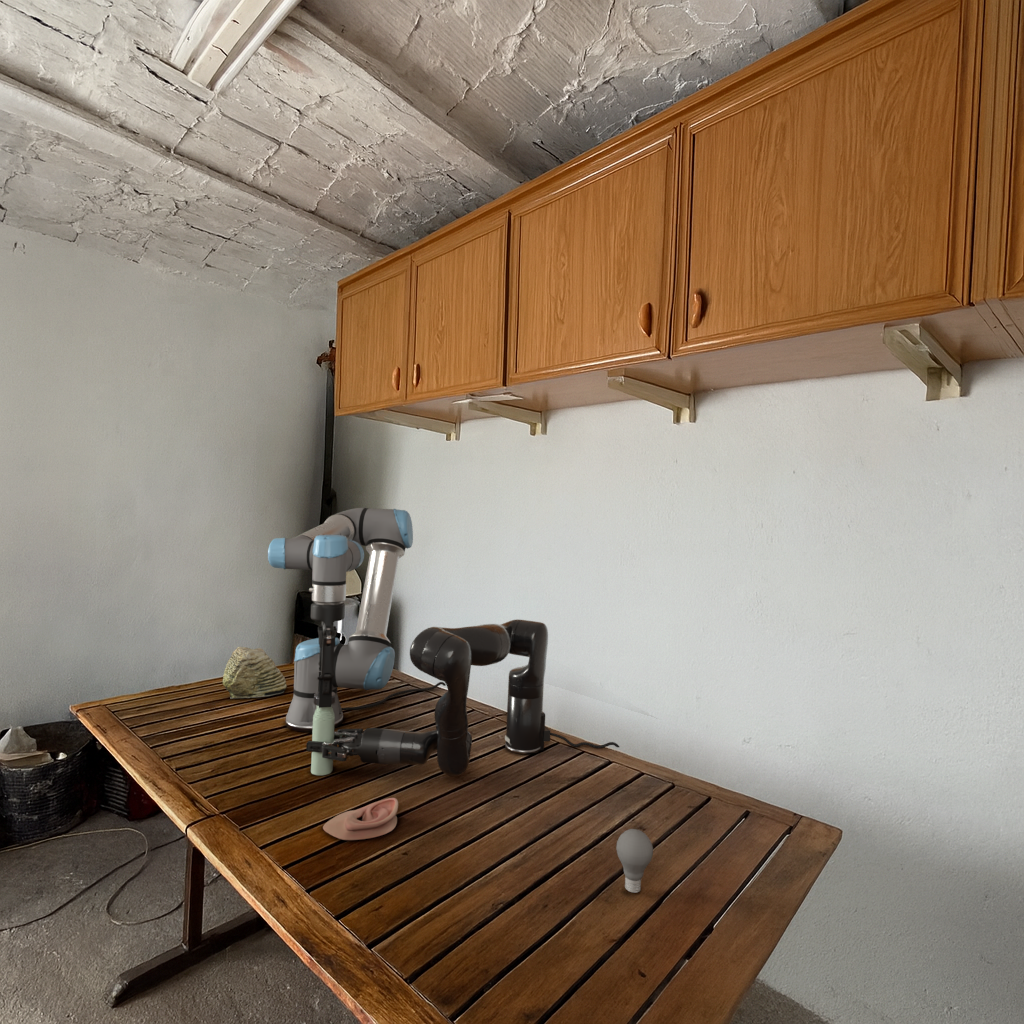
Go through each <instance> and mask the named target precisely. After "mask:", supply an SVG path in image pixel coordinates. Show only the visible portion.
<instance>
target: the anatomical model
mask: <svg viewBox="0 0 1024 1024" xmlns="http://www.w3.org/2000/svg"><path fill="white" fill-rule="evenodd" d="M398 809H399V801H398V799H397V798H396V797H389V798H388V797H387V798H383V799H381V800H378V801H375V802H372V803H369V804H367V805H365V806H363V807H360V808H357V809H353V810H352V809H351V810H348V811H344V812H341V813H340V814H337V815H336V816H333V818H330V819H329V820H328V821H327V822H325V823H324V824H323V826H322V830H323V831H324V832H325V833H326V834H329V835H330V836H332V837H334V838H337V839H339V840H342V841H358V840H359V841H360V840H366V839H373V838H377V837H380V836H383V835H386V834H388V833H390V832H392V831H393V830H394V829H395V828H396V826H397V824H398V817H397V813H398Z"/></svg>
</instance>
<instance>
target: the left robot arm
mask: <svg viewBox="0 0 1024 1024" xmlns="http://www.w3.org/2000/svg"><path fill="white" fill-rule="evenodd" d="M413 542H414V530H413V521H412V517H411V515H410V513H409V512H408V511H407V510H406V509H405V510H404V509H397V508H376V507H375V508H374V507H373V508H372V507H356V508H355V507H354V508H350V509H347V510H343V511H340V512H337V513H334V514H332V515H330V516H328V517H327V518H326V520H325V521H324V522H323V523H322V524H320V525H317V526H315V527H313V528H311V529H308V530H306V531H305V532H302V533H300V534H298V535H296V536H293V537H292V538H291V537H275V538H273V539H272V540H271V541H270V543H269V545H268V548H267V560H268V563H269V565H270V566H271V567H272V568H275V569H283V570H299V571H300V570H302V571H304V570H305V571H312V575H311V576H312V580H311V584H312V587H309V589H308V592H309V593H311V601H312V603H311V604H310V619H311V620H312V621H314V622H321V624H320V625H319V626H317V634H318V637H316V638H312V639H307V640H304V641H302V642H300V643H298V644H297V645H296V647H295V654H294V659H293V661H294V670H293V671H294V672H293V695H292V696H293V697H292V699H291V702H290V704H289V708H288V711H287V713H286V715H285V726H286V728H287V729H289V730H291V731H294V732H295V731H296V732H301V733H312V732H313V715H314V713H315V711H316V708H317V705H315V704H314V694H315V693H317V692H319V708H322V707H331V703H332V692H334V693H335V703H334V704H332V708H333V712H334V716H335V722H334V729H335V728H337V727H339V726H340V725H342V723H343V722H344V714H343V711H344V712H345V711H357V710H364V709H369V708H373V707H377V706H380V705H382V704H384V703H385V702H387V700H389V699H390V698H391V699H392V698H393V697H395V696H399V695H403V694H409V693H415V692H424V691H432V690H434V689H436V688H438V687H439V686H441V685H442V686H445V687H447V685H446V683H445V682H444V681H438V682H437V683H436V684H434V685H433V686H430V687H422V688H421V687H420V688H411V689H406V690H400V691H397V692H394V693H391V694H389V695H387V696H386V697H384V698H383V699H382V700H380V701H377V702H374V703H371V704H366V705H360V706H350V707H349V706H348V707H347V706H346V707H342V706H341V702H340V699H339V695H338V688H340V689H355V690H356V689H357V690H365V691H370V690H382V689H383V688H385V686H387V684H388V683H389V681H390V678H391V677H392V673H393V671H394V666H395V657H396V653H395V651H396V650H395V649H394V648H393V647H392V646H391V641H390V639H389V638H388V637H387V633H388V627H389V621H390V620H389V619H390V614H391V608H392V603H393V602H392V601H393V597H394V590H395V584H396V577H397V571H398V565H399V559H401V558H403V557H404V556H405V553H406V549H410V548H412V547H413V544H414V543H413ZM362 546H364V547H365V550H366V552H367V553H368V554H369V558H368V563H367V568H366V573H365V580H364V585H363V589H362V596H361V600H360V601H361V602H360V605H359V612H358V616H357V623H356V628H355V632H354V633H353V634H351V635H350V636H348V641H347V644H341V641H340V639H339V638H338V637H337V634H338V633H337V631H338V629H337V626H336V625H334V623H335V622H340V621H343V620H344V619H345V617H346V604H345V603H344V602H345V601H346V600H347V573H348V572H352V571H354V570H356V569H358V568H359V567H360V566H361V565H362V563H363V562H364V559H365V551H364V547H362Z"/></svg>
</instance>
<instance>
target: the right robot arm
mask: <svg viewBox="0 0 1024 1024" xmlns="http://www.w3.org/2000/svg"><path fill="white" fill-rule="evenodd" d="M548 644H549V630H548V627H547V625H546V624H545V623H544V622H541V621H534V620H527V619H520V618H519V619H512V620H511V619H510V620H509V621H506V622H503V623H501V624H499V623H486V624H478V625H471V626H470V625H469V626H462V627H441V626H430V627H427V628H425V629H424V630H422V631H421V632H419V633H418V634H417V635H416V636H415V638H414V639H413V641H412V643H411V644H410V648H409V659H410V662H411V663H412V665H413V666H414V667H415V668H416V669H417V670H419V671H420V672H422V673H424V674H427V675H428V676H431V677H432V678H434V679H436V680H438V681H440V682H444V683H445V684H446V688H447V691H445V692H444V693H443V694H442V695H441V696H440V698H439V699H438V701H437V702H436V705H435V708H434V722H435V729H434V730H433V729H432V730H429V731H424V732H423V731H422V732H419V731H404V730H399V729H389V728H375V727H366V728H365V729H364V728H339V729H337V730H336V731H334V741H331V742H320V741H312V740H308V741H307V742H306V745H305V746H306V747H305V750H306V752H309V753H312V752H322V757H323V758H327V759H333V761H338V762H346V761H347V758H348V757H353V756H358V757H359V758H360V759H359V760H360V761H361V763H364V764H377V765H379V764H380V765H411V766H423V765H425V764H427V762H428V761H429V759H430V757H431V754H432V753H434V752H435V751H436V760H437V765H438V768H439V769H440V771H441V772H442V773H443V774H445V775H447V776H449V777H459V776H461V775H463V774H464V773H465V772H466V771H467V770H468V769H469V765H470V760H471V759H470V758H471V752H472V745H473V736H472V735H471V733H470V731H469V720H468V719H469V718H468V711H467V710H468V709H467V700H468V693H469V686H470V678H471V669H472V666H475V667H487V666H491V665H494V664H498V663H500V662H502V661H503V660H505V659H506V658H507V657H508V655H513V656H519V657H527V658H528V662H527V664H526V665H521V666H517V667H513V668H512V669H510V670H509V672H508V684H507V688H508V689H507V707H506V725H505V726H506V727H505V729H506V730H505V735H504V740H505V744H504V747H505V749H506V750H507V751H508V752H510V753H512V754H516V755H525V756H526V755H534V754H537V753H539V752H540V751H541V752H542V751H545V742H551V737H555V738H558V739H561V740H563V741H564V742H566V744H568V745H569V746H571V747H574V748H579V747H581V746H588V747H590V748H593V749H603V748H607V747H609V746H614V747H615V748H620V745H619V744H618V743H616V742H614V741H609V742H607V743H603V744H593V743H591V742H586V741H581V742H578V743H573V742H571V741H570V740H569V739H568V738H567V737H565V736H563V735H560V734H558V733H554V732H551V730H550V729H549V728H548V727H547V726H546V713H545V712H544V710H543V708H544V689H545V688H544V687H545V686H544V685H545V676H546V675H545V674H546V669H547V656H548V655H547V654H548V647H549V645H548ZM331 745H333V746H331Z"/></svg>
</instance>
